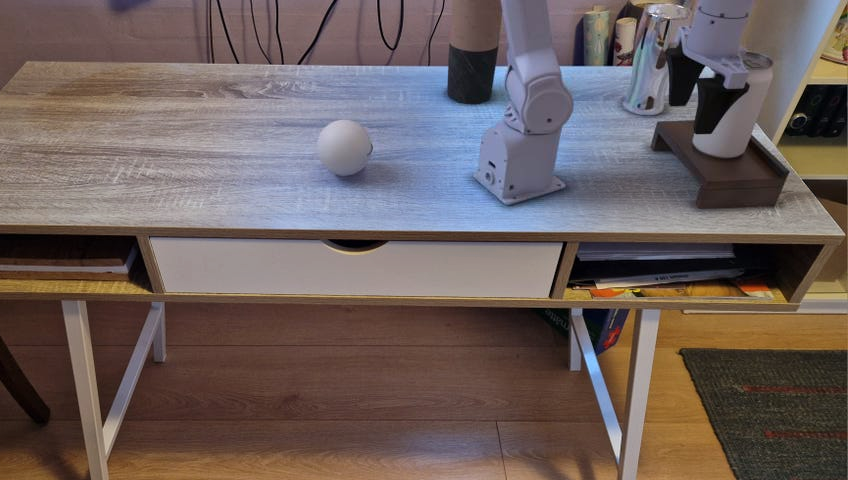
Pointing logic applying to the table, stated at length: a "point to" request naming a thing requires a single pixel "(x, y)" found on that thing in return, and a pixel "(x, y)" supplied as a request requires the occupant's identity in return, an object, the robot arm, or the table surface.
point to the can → (739, 112)
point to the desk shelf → (724, 169)
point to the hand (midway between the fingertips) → (689, 118)
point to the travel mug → (473, 49)
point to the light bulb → (344, 147)
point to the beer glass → (653, 56)
